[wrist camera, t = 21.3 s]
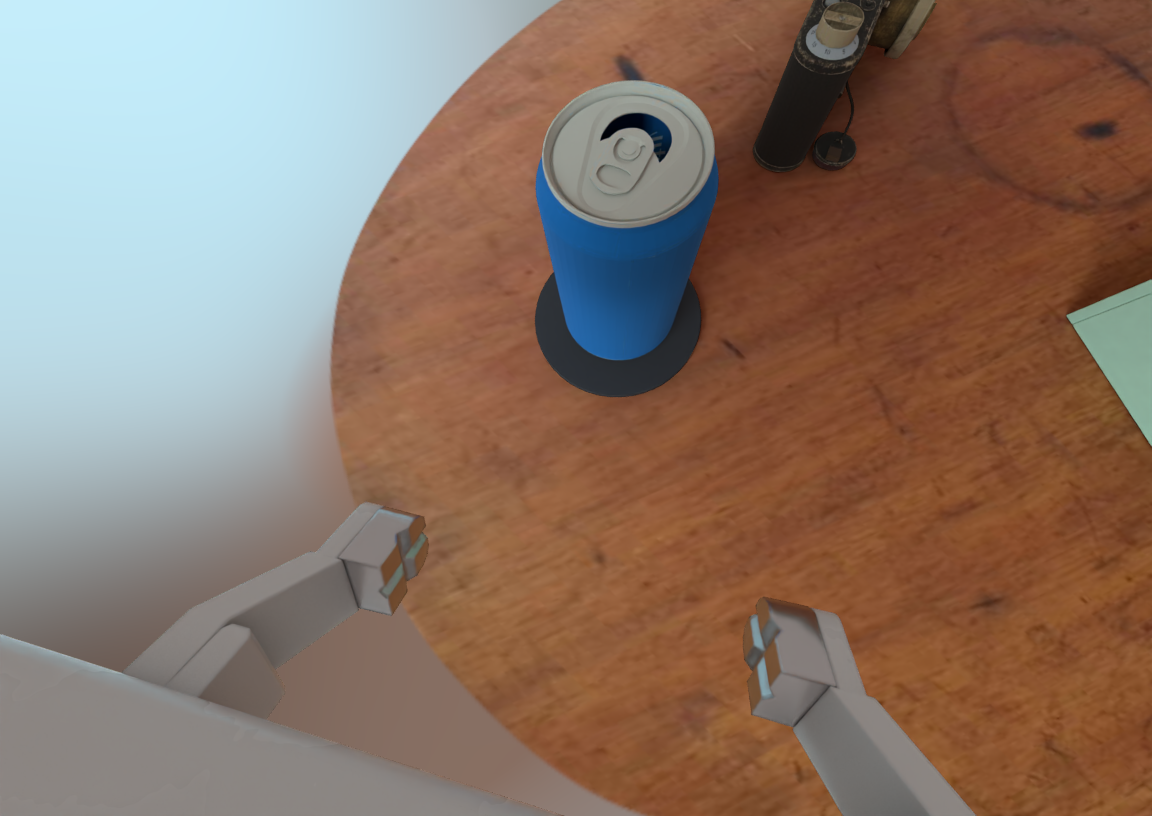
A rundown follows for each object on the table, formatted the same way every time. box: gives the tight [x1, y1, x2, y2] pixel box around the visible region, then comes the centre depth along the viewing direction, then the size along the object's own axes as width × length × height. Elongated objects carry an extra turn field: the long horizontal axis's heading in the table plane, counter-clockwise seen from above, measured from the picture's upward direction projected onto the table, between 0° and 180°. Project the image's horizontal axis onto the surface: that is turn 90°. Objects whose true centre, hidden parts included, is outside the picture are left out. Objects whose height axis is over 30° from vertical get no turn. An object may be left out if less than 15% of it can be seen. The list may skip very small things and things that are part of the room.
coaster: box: [535, 273, 701, 397], centre depth 25 cm, size 10×10×1 cm
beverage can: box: [536, 81, 719, 360], centre depth 19 cm, size 6×6×12 cm
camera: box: [753, 0, 937, 172], centre depth 24 cm, size 16×7×8 cm, turn 155°
